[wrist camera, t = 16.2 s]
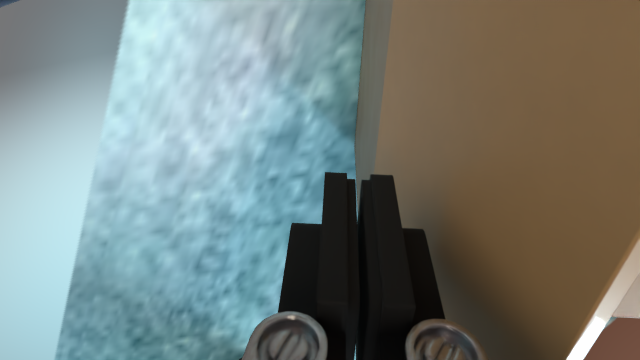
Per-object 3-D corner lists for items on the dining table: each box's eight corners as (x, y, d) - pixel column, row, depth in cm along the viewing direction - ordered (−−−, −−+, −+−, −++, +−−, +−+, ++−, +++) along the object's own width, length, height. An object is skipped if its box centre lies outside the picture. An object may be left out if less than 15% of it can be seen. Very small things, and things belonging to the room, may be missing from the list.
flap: (367, 302, 18) (358, 304, 18) (424, -136, 10) (407, -137, 9) (460, 551, 11) (446, 555, 11) (929, -170, 3) (883, -172, 3)
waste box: (354, 146, 29) (362, 306, 18) (375, -128, 20) (416, -139, 9) (609, 155, 28) (776, 325, 18) (741, -119, 20) (1227, -120, 9)
